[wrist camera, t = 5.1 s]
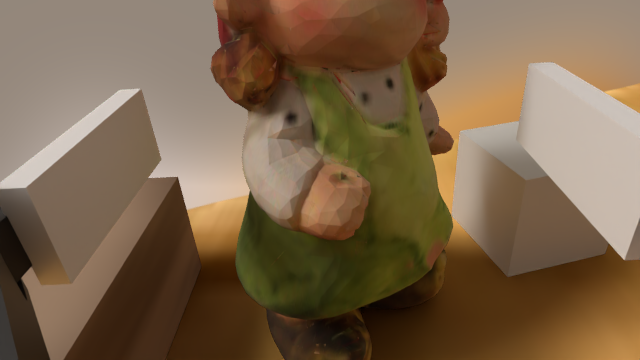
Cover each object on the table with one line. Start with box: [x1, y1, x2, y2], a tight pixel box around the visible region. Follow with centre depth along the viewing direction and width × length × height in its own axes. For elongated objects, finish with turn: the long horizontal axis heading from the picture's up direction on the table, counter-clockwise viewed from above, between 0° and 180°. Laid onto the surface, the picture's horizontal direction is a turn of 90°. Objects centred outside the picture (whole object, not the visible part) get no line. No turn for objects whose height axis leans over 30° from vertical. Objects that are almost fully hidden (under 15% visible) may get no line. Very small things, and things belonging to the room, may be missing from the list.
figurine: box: [211, 0, 454, 360], centre depth 17 cm, size 11×9×20 cm
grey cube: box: [452, 121, 608, 277], centre depth 25 cm, size 6×6×6 cm
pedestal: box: [22, 177, 202, 360], centre depth 19 cm, size 12×12×6 cm
